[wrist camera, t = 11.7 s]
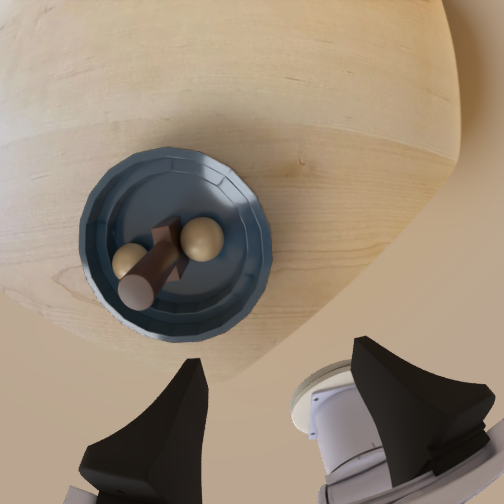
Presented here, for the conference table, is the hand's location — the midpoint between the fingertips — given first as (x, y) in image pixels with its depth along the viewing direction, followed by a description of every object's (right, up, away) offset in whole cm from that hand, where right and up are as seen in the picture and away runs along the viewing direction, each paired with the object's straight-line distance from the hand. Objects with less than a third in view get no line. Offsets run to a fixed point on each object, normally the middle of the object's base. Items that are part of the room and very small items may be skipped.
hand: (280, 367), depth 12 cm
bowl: (-7, +6, +9) cm, 13 cm away
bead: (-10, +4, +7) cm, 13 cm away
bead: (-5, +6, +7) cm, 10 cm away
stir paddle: (-7, +6, +8) cm, 12 cm away
